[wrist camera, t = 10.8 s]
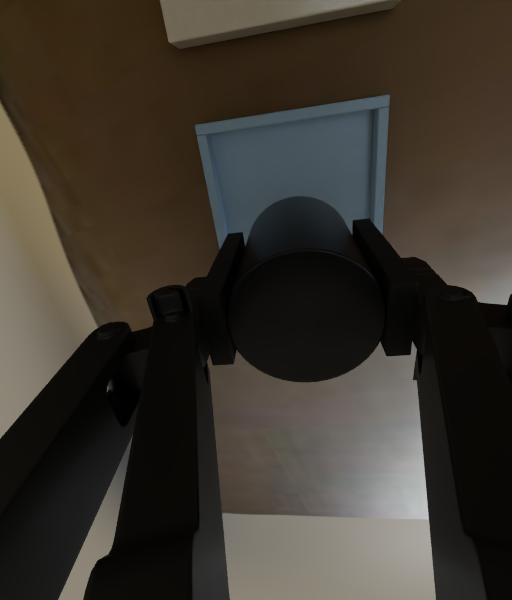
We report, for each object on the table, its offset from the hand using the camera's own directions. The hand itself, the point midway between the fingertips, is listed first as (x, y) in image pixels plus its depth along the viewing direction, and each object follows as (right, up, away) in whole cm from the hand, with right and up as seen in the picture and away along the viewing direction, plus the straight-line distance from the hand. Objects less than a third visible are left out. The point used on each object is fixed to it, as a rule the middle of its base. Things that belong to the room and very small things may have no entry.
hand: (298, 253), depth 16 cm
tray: (+1, +4, +7) cm, 8 cm away
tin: (0, 0, +1) cm, 1 cm away
